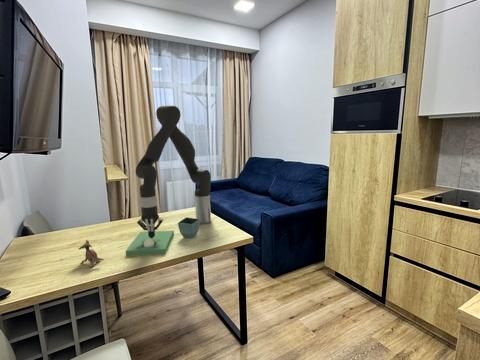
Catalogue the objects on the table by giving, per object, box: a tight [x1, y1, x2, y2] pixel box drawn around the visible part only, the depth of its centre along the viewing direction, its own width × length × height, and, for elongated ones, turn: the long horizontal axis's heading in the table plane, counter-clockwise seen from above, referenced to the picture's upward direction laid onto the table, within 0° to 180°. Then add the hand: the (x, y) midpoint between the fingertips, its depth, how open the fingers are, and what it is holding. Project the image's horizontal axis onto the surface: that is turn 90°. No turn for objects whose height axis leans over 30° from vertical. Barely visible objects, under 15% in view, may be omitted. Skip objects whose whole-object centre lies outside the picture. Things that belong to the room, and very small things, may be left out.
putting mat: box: [125, 230, 175, 257], centre depth 128 cm, size 18×22×2 cm
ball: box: [144, 239, 154, 247], centre depth 122 cm, size 5×5×5 cm
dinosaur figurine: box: [78, 239, 105, 268], centre depth 110 cm, size 14×6×9 cm, turn 57°
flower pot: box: [177, 216, 200, 239], centre depth 136 cm, size 9×9×9 cm
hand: (151, 237), depth 128 cm, fingers closed
